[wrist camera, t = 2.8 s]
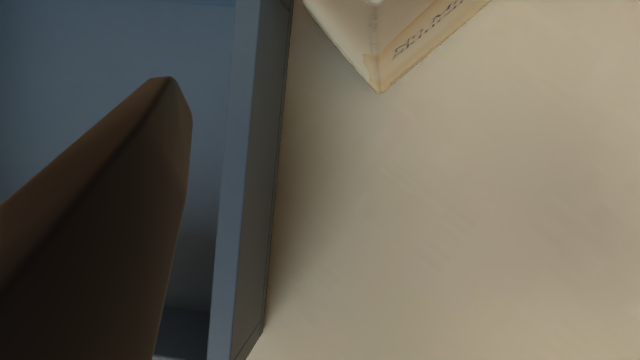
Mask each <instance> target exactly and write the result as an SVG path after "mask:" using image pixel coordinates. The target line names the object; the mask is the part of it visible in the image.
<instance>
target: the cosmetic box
mask: <svg viewBox="0 0 640 360" xmlns="http://www.w3.org/2000/svg"><path fill="white" fill-rule="evenodd" d="M490 1H491V0H302V2H303V4H304V5H305V7H306V9H307V10H308V12H309V14H310V15H311V17H312V18H313V19H314V20H315V22H316V23H317V24H318V25H319V27H320V28H321V29H322V30H323V32H324V33H325V34H326V35H327V37H328V38H329V39H330V40H331V41H332V43H333V44H334V45H335V46H336V47H337V48H338V50H339V51H340V52H341V53H342V54H343V56H344V57H345V58H346V59H347V60H348V61H349V63H350V64H351V65H352V66H353V67H354V68H355V70H356V71H357V72H358V73H359V74H360V75H361V76H362V77H363V78H364V80H365V81H366V82H367V83H368V84H369V85H370V86H371V87H372V88H373V89H374V90H375V92H376V93H378V94H381V93H383V92H384V91H385V90H386V89H388V88H389V87H390V86H391V85H392V84H393V83H395V82H396V81H397V80H398V79H400V78H401V77H402V76H403V75H404V74H406V73H407V72H408V71H409V70H410V69H412V68H413V67H414V66H415V65H417V64H418V63H419V62H420V61H421V60H423V59H424V58H425V57H426V56H427V55H429V54H430V53H431V52H432V51H433V50H434V49H436V48H437V47H438V46H439V45H440V44H441V43H443V42H444V41H445V40H446V39H447V38H449V37H450V36H451V35H452V34H453V33H454V32H455V31H457V30H458V29H459V28H460V27H461V26H462V25H463V24H465V23H466V22H467V21H468V20H469V19H470V18H471V17H473V16H474V15H475V14H476V13H477V12H478V11H479V10H481V9H482V8H483V7H484V6H485V5H486V4H487V3H489V2H490Z"/></svg>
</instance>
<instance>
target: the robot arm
mask: <svg viewBox="0 0 640 360" xmlns="http://www.w3.org/2000/svg"><path fill="white" fill-rule="evenodd" d="M192 128H193V118H192V113H191V110H190V108H189V106H188V104H187V101H186V99H185V97H184V95H183V93H182V91H181V89H180V86H179V84H178V82H177V81H176V80H175V78H173V77H171V76H165V77H154V78H150V79H148V80H147V81H146V82H144V83H143V84H142V85H141V86H140V87H139V88H137V89H136V90H135V91H134V92H133V93H132V94H130V95H129V96H128V97H127V98H126V99H124V100H123V101H122V102H121V103H120V104H119V105H117V106H116V107H115V108H114V109H113V110H111V111H110V112H109V113H108V114H107V115H106V116H104V117H103V118H102V119H101V120H100V121H99V122H97V123H96V124H95V125H94V126H93V127H91V128H90V129H89V130H88V131H87V132H86V133H84V134H83V135H82V136H81V137H80V138H78V139H77V140H76V141H75V142H74V143H73V144H71V145H70V146H69V147H68V148H67V149H66V150H64V151H63V152H62V153H61V154H60V155H58V156H57V157H56V158H55V159H54V160H53V161H51V162H50V163H49V164H48V165H47V166H46V167H44V168H43V169H42V170H41V171H40V172H38V173H37V174H36V175H35V176H34V177H33V178H31V179H30V180H29V181H28V182H27V183H25V184H24V185H23V186H22V187H21V188H20V189H18V190H17V191H16V192H15V193H14V194H13V195H11V196H10V197H9V198H8V199H7V200H5V201H4V202H3V203H2V204H1V205H0V360H152V359H153V354H154V349H155V345H156V340H157V335H158V330H159V326H160V321H161V316H162V311H163V307H164V302H165V297H166V292H167V288H168V283H169V278H170V273H171V268H172V264H173V259H174V254H175V249H176V245H177V240H178V235H179V230H180V226H181V221H182V216H183V211H184V206H185V201H186V195H187V187H188V176H189V164H190V152H191V140H192Z"/></svg>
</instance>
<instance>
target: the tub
mask: <svg viewBox="0 0 640 360" xmlns="http://www.w3.org/2000/svg"><path fill="white" fill-rule="evenodd" d="M293 2H294V0H0V205H1V204H2V203H3V202H4V201H5V200H7V199H8V198H9V197H10V196H11V195H13V194H14V193H15V192H16V191H17V190H18V189H20V188H21V187H22V186H23V185H24V184H25V183H27V182H28V181H29V180H30V179H31V178H33V177H34V176H35V175H36V174H37V173H38V172H40V171H41V170H42V169H43V168H44V167H46V166H47V165H48V164H49V163H50V162H51V161H53V160H54V159H55V158H56V157H57V156H58V155H60V154H61V153H62V152H63V151H64V150H66V149H67V148H68V147H69V146H70V145H71V144H73V143H74V142H75V141H76V140H77V139H78V138H80V137H81V136H82V135H83V134H84V133H86V132H87V131H88V130H89V129H90V128H91V127H93V126H94V125H95V124H96V123H97V122H99V121H100V120H101V119H102V118H103V117H104V116H106V115H107V114H108V113H109V112H110V111H111V110H113V109H114V108H115V107H116V106H117V105H119V104H120V103H121V102H122V101H123V100H124V99H126V98H127V97H128V96H129V95H130V94H132V93H133V92H134V91H135V90H136V89H137V88H139V87H140V86H141V85H142V84H143V83H144V82H146V81H147V80H148V79H150V78H154V77H165V76H171V77H173V78H175V80H176V81H177V82H178V84H179V86H180V89H181V91H182V93H183V95H184V97H185V99H186V101H187V104H188V106H189V108H190V110H191V113H192V118H193V128H192V140H191V152H190V164H189V176H188V187H187V195H186V201H185V206H184V211H183V216H182V221H181V226H180V230H179V235H178V240H177V245H176V249H175V254H174V259H173V264H172V268H171V273H170V278H169V283H168V288H167V292H166V297H165V302H164V307H163V311H162V316H161V321H160V326H159V330H158V335H157V340H156V345H155V349H154V354H153V359H152V360H246V358H247V356H248V355H249V353H250V352H251V350H252V348H253V347H254V345H255V344H256V342H257V340H258V339H259V337H260V336H261V334H262V332H263V323H264V312H265V301H266V291H267V280H268V269H269V258H270V248H271V237H272V226H273V216H274V205H275V194H276V184H277V173H278V162H279V151H280V141H281V130H282V119H283V109H284V98H285V87H286V77H287V66H288V55H289V44H290V34H291V23H292V12H293Z"/></svg>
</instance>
